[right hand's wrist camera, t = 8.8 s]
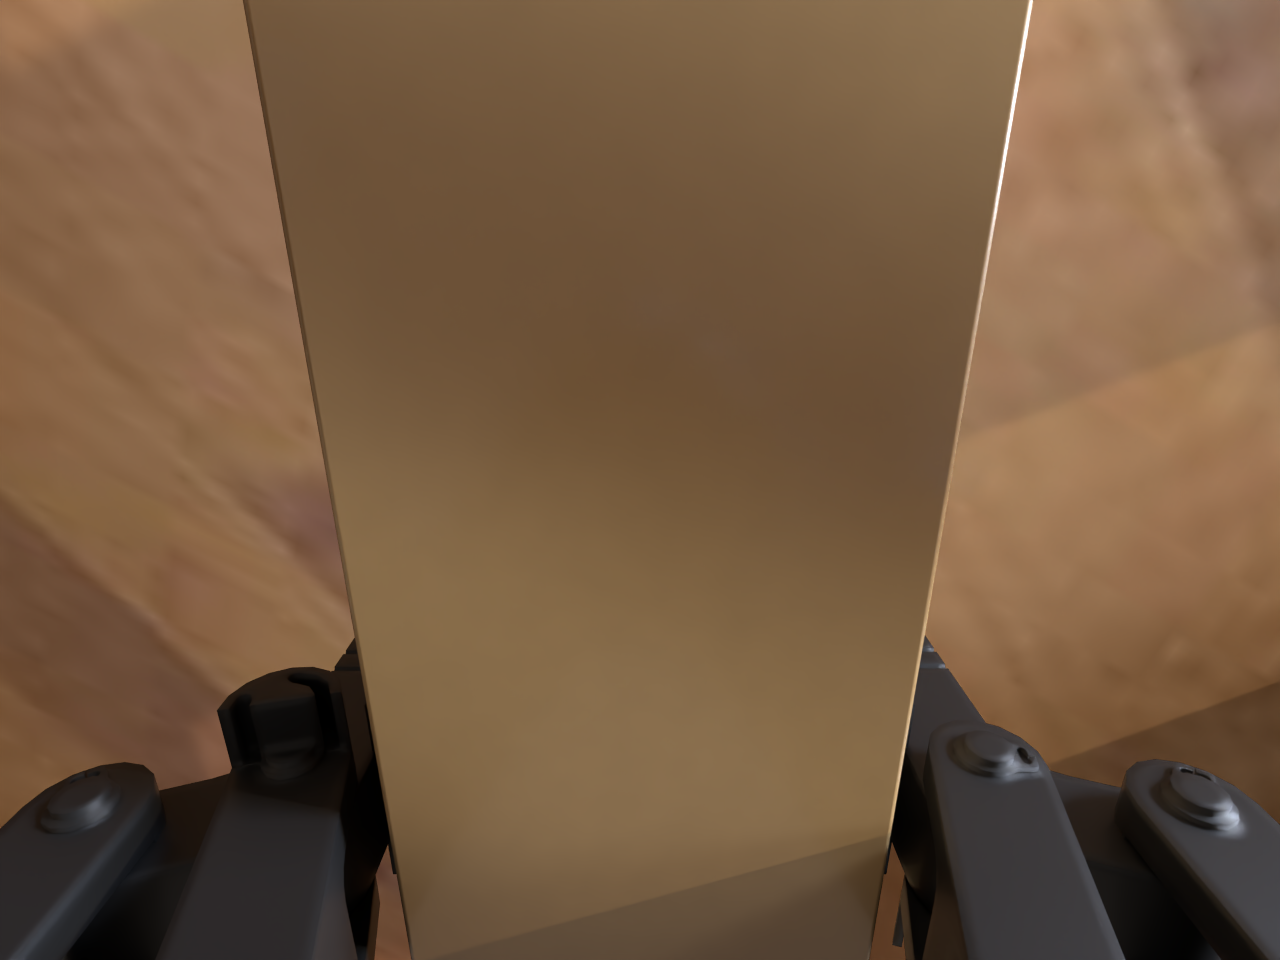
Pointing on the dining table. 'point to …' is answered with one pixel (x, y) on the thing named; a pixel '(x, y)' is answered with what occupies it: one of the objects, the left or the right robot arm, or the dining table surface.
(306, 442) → the dining table surface
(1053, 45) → the dining table surface
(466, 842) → the beam
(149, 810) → the right robot arm
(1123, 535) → the dining table surface
